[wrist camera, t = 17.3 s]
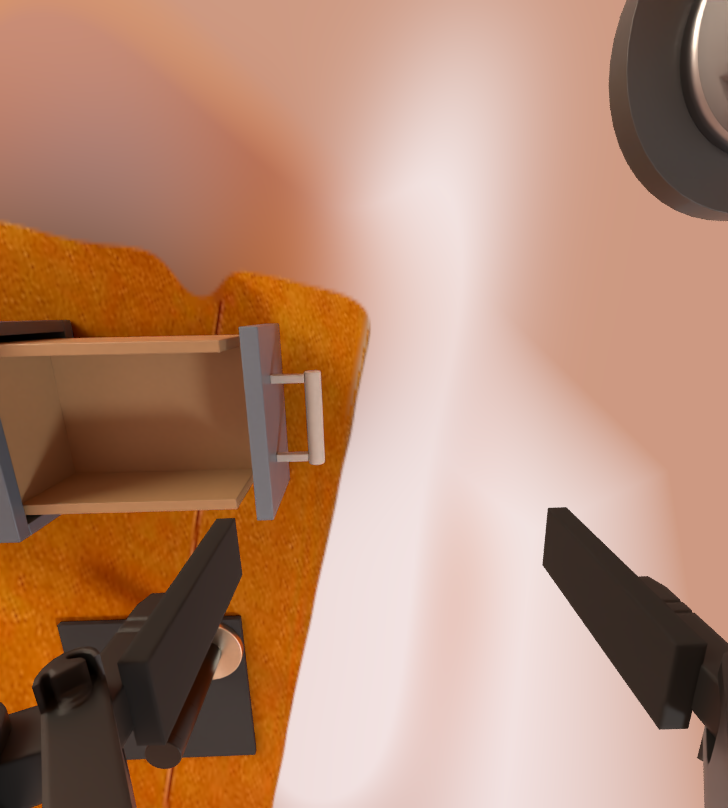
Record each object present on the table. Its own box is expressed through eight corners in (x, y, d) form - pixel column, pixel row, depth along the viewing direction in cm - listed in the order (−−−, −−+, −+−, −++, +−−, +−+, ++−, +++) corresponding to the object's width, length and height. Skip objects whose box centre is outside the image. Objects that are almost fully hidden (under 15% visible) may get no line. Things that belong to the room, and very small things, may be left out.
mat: (240, 615, 38) (239, 619, 38) (256, 749, 42) (255, 754, 42) (60, 621, 38) (56, 625, 37) (94, 756, 42) (91, 761, 42)
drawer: (323, 322, 30) (314, 325, 24) (330, 477, 34) (324, 518, 27) (45, 328, 30) (-43, 332, 23) (79, 484, 33) (9, 528, 27)
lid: (240, 618, 38) (202, 719, 28) (246, 673, 39) (212, 786, 30) (171, 621, 37) (110, 723, 28) (180, 675, 39) (125, 789, 30)
